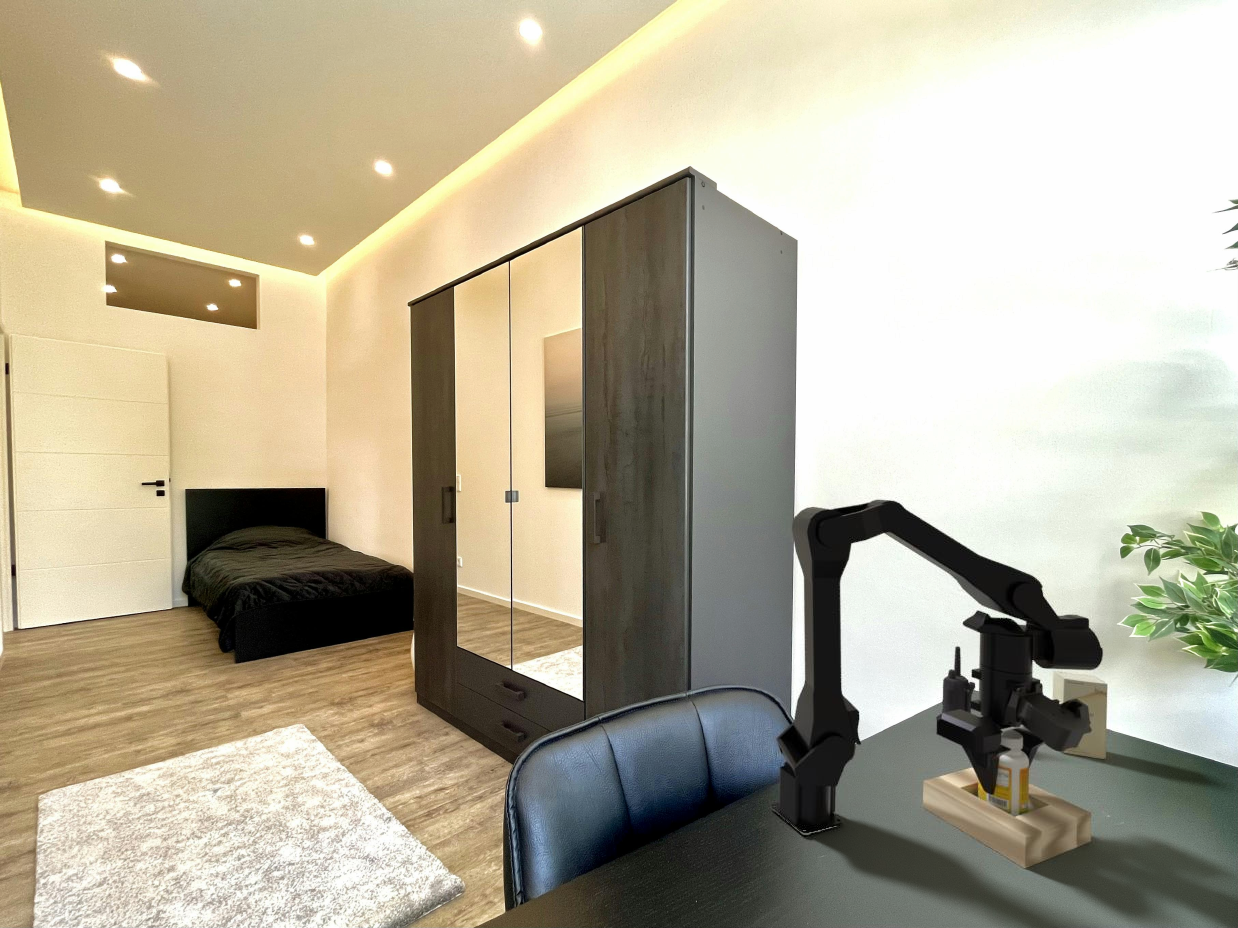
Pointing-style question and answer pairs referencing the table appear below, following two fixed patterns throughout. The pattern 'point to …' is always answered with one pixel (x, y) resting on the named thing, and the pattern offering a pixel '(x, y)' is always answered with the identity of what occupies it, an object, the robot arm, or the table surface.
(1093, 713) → the skincare box
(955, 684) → the two-way radio
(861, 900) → the table surface
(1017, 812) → the supplement bottle
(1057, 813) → the socket block
